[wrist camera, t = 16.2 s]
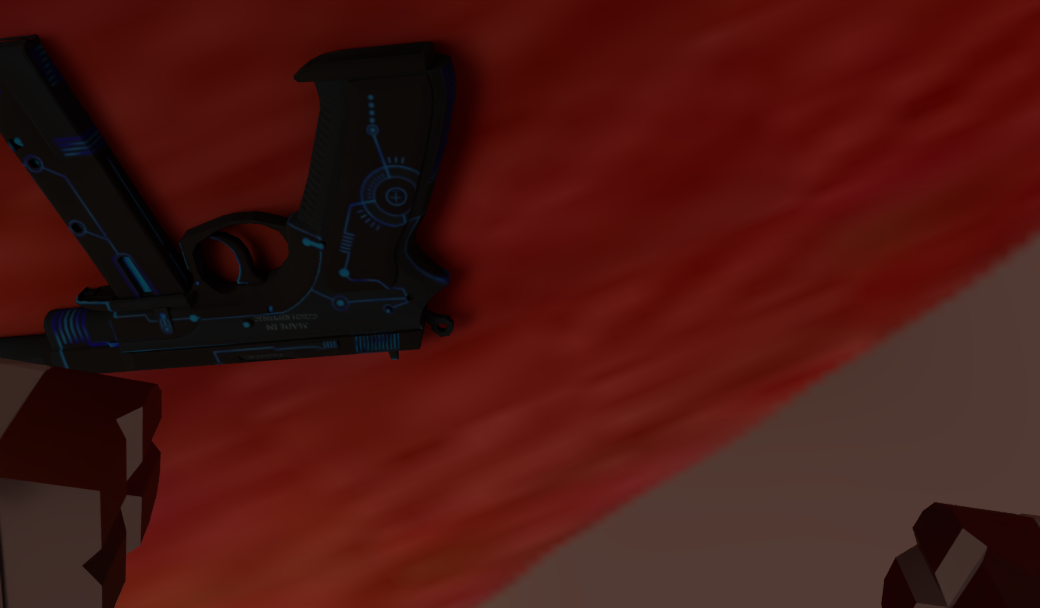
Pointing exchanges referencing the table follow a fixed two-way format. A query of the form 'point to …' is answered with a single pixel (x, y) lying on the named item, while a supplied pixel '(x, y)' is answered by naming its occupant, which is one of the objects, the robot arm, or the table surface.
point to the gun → (309, 232)
